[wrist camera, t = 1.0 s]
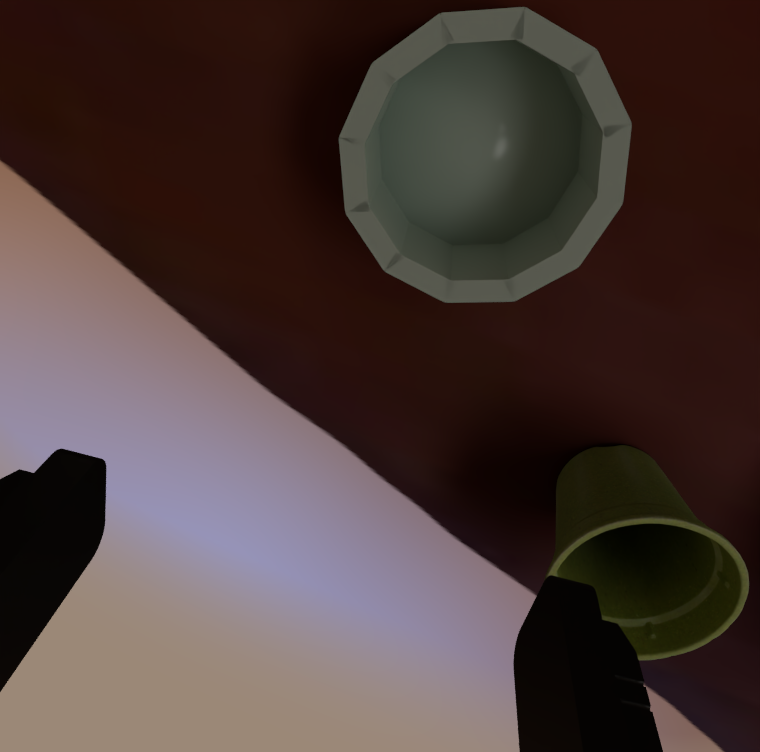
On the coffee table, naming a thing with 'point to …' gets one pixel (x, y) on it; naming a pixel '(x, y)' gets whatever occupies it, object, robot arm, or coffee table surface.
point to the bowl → (484, 155)
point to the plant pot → (644, 553)
